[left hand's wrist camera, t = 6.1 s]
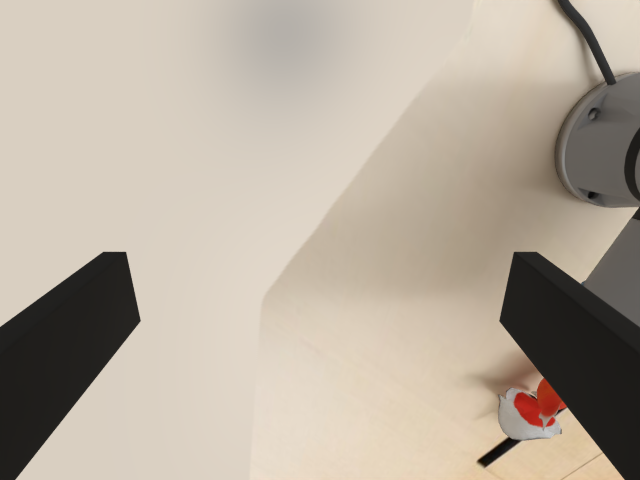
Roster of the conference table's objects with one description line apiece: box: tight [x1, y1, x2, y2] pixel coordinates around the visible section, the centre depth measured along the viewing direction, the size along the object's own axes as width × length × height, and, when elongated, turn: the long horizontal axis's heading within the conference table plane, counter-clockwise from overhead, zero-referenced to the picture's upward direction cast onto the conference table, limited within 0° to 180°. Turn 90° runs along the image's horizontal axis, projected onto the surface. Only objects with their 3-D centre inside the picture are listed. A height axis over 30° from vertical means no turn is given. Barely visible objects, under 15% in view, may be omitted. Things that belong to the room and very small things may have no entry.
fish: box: [498, 378, 567, 440], centre depth 54 cm, size 11×16×10 cm
